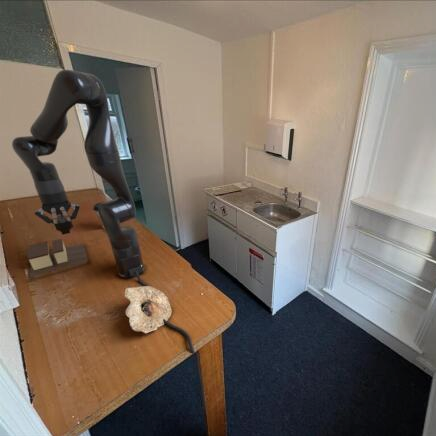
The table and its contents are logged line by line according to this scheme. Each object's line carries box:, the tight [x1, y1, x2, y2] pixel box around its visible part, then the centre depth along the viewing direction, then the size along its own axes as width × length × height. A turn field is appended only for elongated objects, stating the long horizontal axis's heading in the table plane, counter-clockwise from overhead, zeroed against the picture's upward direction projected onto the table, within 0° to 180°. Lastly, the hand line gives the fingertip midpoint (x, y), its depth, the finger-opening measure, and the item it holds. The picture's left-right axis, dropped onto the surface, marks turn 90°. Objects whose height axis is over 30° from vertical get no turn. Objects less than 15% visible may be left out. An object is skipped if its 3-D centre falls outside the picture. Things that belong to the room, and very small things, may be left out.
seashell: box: [124, 285, 172, 334], centre depth 81 cm, size 18×14×8 cm
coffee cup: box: [92, 201, 105, 230], centre depth 130 cm, size 10×10×15 cm
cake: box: [27, 241, 53, 270], centre depth 100 cm, size 12×6×6 cm, turn 44°
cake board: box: [29, 242, 89, 278], centre depth 104 cm, size 20×18×2 cm
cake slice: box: [51, 238, 68, 264], centre depth 104 cm, size 12×3×6 cm, turn 44°
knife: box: [57, 214, 71, 236], centre depth 100 cm, size 21×2×6 cm, turn 43°
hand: (65, 229), depth 97 cm, fingers closed on knife, 2 cm apart
